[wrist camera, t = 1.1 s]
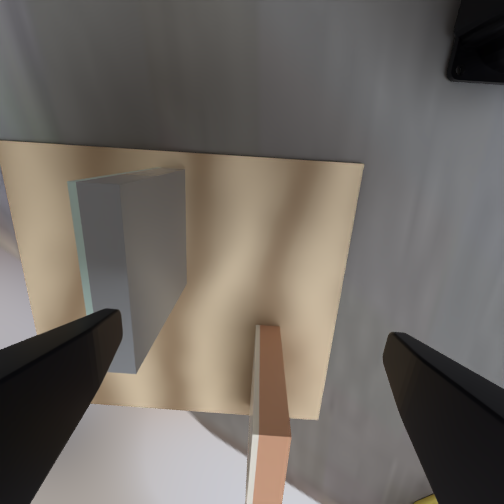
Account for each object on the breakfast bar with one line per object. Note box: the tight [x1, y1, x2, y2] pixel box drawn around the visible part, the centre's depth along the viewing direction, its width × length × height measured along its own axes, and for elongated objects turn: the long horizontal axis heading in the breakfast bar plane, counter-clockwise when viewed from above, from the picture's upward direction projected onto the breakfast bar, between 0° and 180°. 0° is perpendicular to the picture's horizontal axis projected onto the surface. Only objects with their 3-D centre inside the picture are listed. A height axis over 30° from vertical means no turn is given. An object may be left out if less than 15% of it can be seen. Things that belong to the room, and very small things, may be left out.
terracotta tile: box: [245, 325, 291, 504], centre depth 19 cm, size 2×8×9 cm, turn 176°
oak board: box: [0, 140, 364, 420], centre depth 22 cm, size 23×21×1 cm
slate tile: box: [67, 167, 187, 374], centre depth 15 cm, size 2×8×9 cm, turn 177°
